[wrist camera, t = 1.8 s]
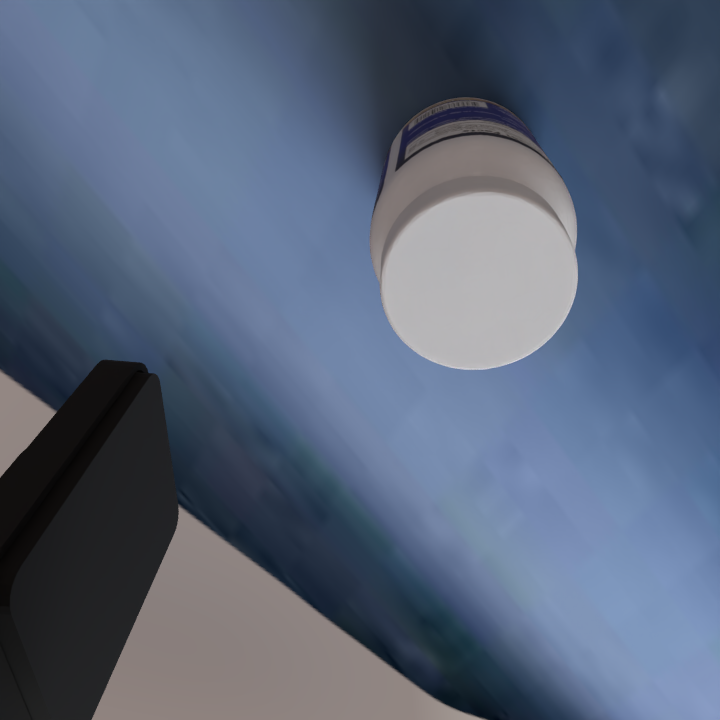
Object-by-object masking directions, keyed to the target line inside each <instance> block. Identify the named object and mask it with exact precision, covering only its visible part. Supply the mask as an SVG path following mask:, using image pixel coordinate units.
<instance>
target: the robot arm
mask: <svg viewBox="0 0 720 720" xmlns="http://www.w3.org/2000/svg"><path fill="white" fill-rule="evenodd" d="M178 512H179V511H178V502H177V495H176V488H175V481H174V474H173V468H172V461H171V454H170V447H169V441H168V434H167V427H166V420H165V413H164V407H163V400H162V393H161V386H160V381H159V378H158V376H157V375H156V374H152V373H148V370H147V368H146V366H145V365H144V364H143V363H139V362H127V361H114V360H102V361H100V362H99V363H98V364H97V365H96V366H95V367H94V369H93V370H92V371H91V372H90V373H89V375H88V376H87V377H86V378H85V379H84V381H83V382H82V383H81V384H80V385H79V387H78V388H77V389H76V390H75V391H74V392H73V394H72V395H71V396H70V397H69V398H68V400H67V401H66V402H65V403H64V404H63V406H62V407H61V408H60V409H59V410H58V412H57V413H56V414H55V415H54V416H53V418H52V419H51V420H50V421H49V422H48V424H47V425H46V426H45V427H44V428H43V430H42V431H41V432H40V433H39V434H38V436H37V437H36V438H35V439H34V440H33V442H32V443H31V444H30V445H29V446H28V447H27V449H25V450H24V451H23V452H22V453H21V454H20V455H19V456H18V457H17V459H16V460H15V461H14V462H13V463H12V464H11V466H10V467H9V468H8V469H7V470H6V472H5V473H4V474H3V475H2V476H1V478H0V720H91V719H92V717H93V715H94V712H95V710H96V708H97V706H98V704H99V702H100V699H101V697H102V695H103V693H104V690H105V688H106V686H107V684H108V681H109V679H110V677H111V674H112V672H113V670H114V668H115V666H116V663H117V661H118V659H119V657H120V654H121V652H122V650H123V647H124V645H125V643H126V640H127V638H128V636H129V634H130V632H131V630H132V627H133V625H134V623H135V621H136V618H137V616H138V614H139V612H140V609H141V607H142V605H143V603H144V600H145V598H146V596H147V593H148V591H149V589H150V587H151V585H152V582H153V580H154V578H155V575H156V573H157V571H158V569H159V567H160V564H161V562H162V560H163V557H164V555H165V553H166V551H167V549H168V546H169V544H170V542H171V540H172V537H173V535H174V532H175V530H176V526H177V521H178Z"/></svg>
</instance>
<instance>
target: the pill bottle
mask: <svg viewBox="0 0 720 720" xmlns="http://www.w3.org/2000/svg"><path fill="white" fill-rule="evenodd" d="M576 238H577V222H576V215H575V210H574V206H573V202H572V199H571V197H570V194H569V192H568V190H567V187H566V185H565V183H564V181H563V179H562V177H561V176H560V175H559V173H558V172H557V170H556V169H555V168H554V166H553V165H552V163H551V161H550V160H549V159H548V157H547V156H546V154H545V153H544V151H543V150H542V148H541V147H540V145H539V144H538V142H537V141H536V139H535V138H534V136H533V135H532V133H531V132H530V130H529V129H528V128H527V126H526V125H525V124H524V123H523V122H522V121H521V120H520V119H519V118H518V117H517V116H516V115H515V114H513V113H512V112H511V111H509V110H508V109H506V108H505V107H502V106H500V105H498V104H496V103H494V102H491V101H488V100H484V99H479V98H470V97H462V98H454V99H448V100H444V101H441V102H438V103H436V104H434V105H431V106H429V107H428V108H426V109H424V110H422V111H421V112H419V113H418V114H417V115H415V116H414V117H413V118H412V119H411V120H410V121H409V122H407V124H406V125H405V126H404V127H403V128H402V129H401V131H400V132H399V133H398V135H397V136H396V138H395V139H394V141H393V143H392V145H391V147H390V149H389V151H388V154H387V156H386V159H385V163H384V167H383V171H382V175H381V180H380V185H379V189H378V194H377V198H376V202H375V206H374V211H373V215H372V221H371V229H370V253H371V259H372V263H373V267H374V271H375V274H376V276H377V279H378V281H379V283H380V295H381V300H382V305H383V308H384V311H385V314H386V316H387V318H388V320H389V322H390V324H391V326H392V328H393V329H394V331H395V332H396V333H397V335H398V336H399V337H400V338H401V339H402V340H403V342H404V343H405V344H407V345H408V346H409V347H410V348H411V349H412V350H414V351H415V352H416V353H418V354H419V355H421V356H423V357H424V358H426V359H428V360H431V361H433V362H435V363H438V364H441V365H444V366H447V367H451V368H457V369H467V370H479V369H489V368H495V367H499V366H503V365H506V364H510V363H513V362H515V361H518V360H520V359H522V358H524V357H526V356H528V355H529V354H531V353H532V352H534V351H536V350H537V349H538V348H540V347H541V346H542V345H544V344H545V343H546V342H547V341H548V340H549V339H550V338H551V337H552V336H553V335H554V334H555V332H556V331H557V330H558V329H559V327H560V326H561V325H562V323H563V322H564V320H565V318H566V317H567V315H568V313H569V311H570V309H571V306H572V304H573V301H574V298H575V294H576V289H577V282H578V267H577V258H576V254H575V247H576Z"/></svg>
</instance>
